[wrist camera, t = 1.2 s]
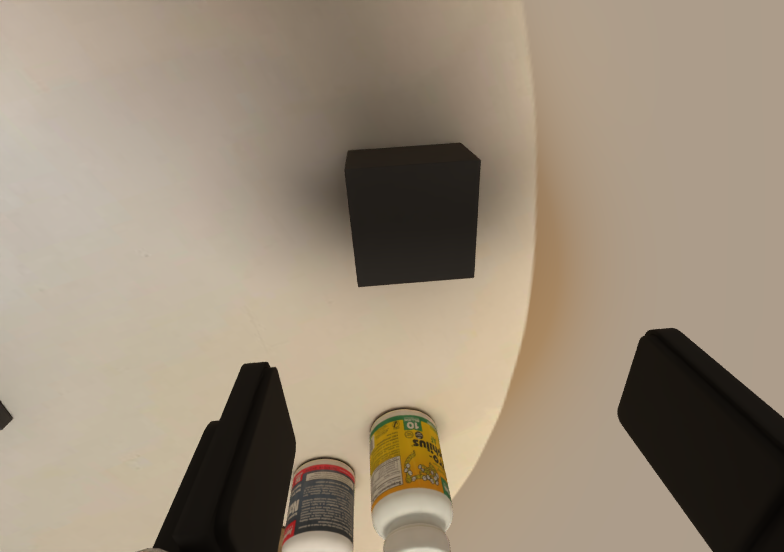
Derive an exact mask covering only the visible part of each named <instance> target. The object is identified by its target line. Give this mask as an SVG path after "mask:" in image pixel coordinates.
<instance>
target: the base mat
mask: <svg viewBox="0 0 784 552" xmlns="http://www.w3.org/2000/svg"><path fill="white" fill-rule="evenodd" d="M11 420H12V417H11V416H10V415H9V413H8V412H7V411H6V410H5V408H4V407H3V406H2V404H1V403H0V430H2V429H3V428H4V427H5V426H6V425H7V424H8V423H9V422H10V421H11Z"/></svg>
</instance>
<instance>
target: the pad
mask: <svg viewBox="0 0 784 552" xmlns="http://www.w3.org/2000/svg"><path fill="white" fill-rule="evenodd" d="M480 165H481V160H480V159H479V158H478V157H477V156H476V155H474V154H473V153H472V152H471V151H470V150H468V149H467V148H466V147H465V146H464V145H463V144H461V143H450V144H436V145H422V146H408V147H394V148H380V149H366V150H351V151H348V153H347V159H346V165H345V178H346V187H347V196H348V204H349V213H350V222H351V230H352V239H353V248H354V256H355V265H356V274H357V282H358V287H365V286H377V285H390V284H402V283H414V282H427V281H439V280H451V279H464V278H474V271H475V253H476V236H477V218H478V200H479V182H480Z"/></svg>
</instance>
